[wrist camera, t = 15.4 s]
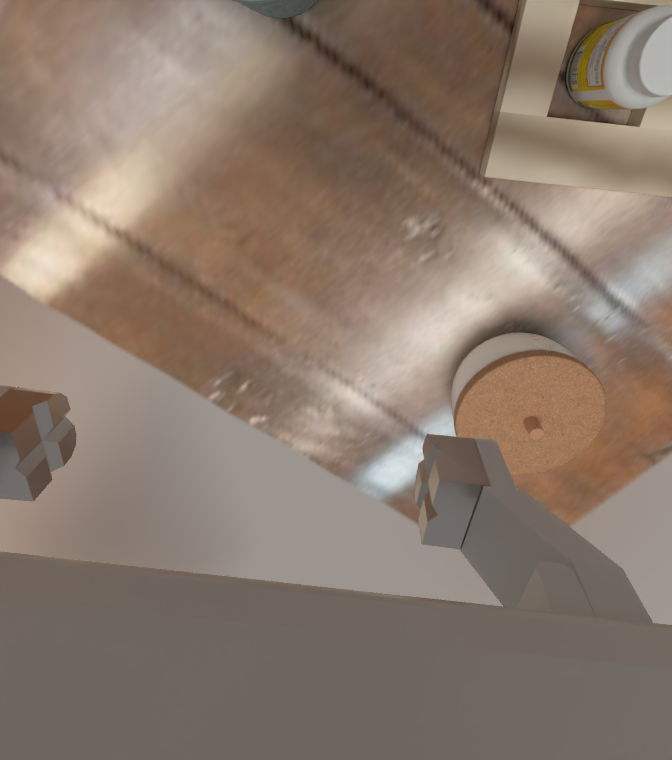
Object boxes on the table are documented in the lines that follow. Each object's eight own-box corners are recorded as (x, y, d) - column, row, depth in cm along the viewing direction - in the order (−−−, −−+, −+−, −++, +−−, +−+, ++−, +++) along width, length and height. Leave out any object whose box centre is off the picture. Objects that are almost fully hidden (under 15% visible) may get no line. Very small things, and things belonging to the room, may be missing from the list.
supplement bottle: (550, 66, 34) (609, 52, 26) (618, 3, 32) (706, -35, 24) (586, 126, 36) (652, 130, 28) (654, 69, 34) (746, 55, 26)
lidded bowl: (461, 302, 44) (487, 355, 35) (588, 324, 45) (648, 382, 35) (427, 409, 51) (441, 478, 41) (538, 427, 51) (578, 500, 41)
